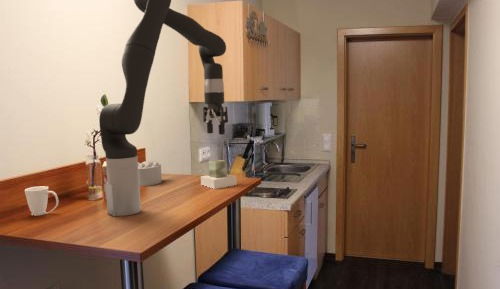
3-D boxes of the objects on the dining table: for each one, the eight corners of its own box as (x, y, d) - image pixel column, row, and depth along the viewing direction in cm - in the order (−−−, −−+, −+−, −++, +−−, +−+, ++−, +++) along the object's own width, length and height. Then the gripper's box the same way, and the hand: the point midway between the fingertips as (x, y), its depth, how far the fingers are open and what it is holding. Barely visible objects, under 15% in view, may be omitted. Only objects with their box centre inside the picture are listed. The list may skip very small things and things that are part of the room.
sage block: (216, 178, 171) (215, 162, 170) (209, 176, 175) (208, 161, 174) (227, 176, 174) (226, 161, 173) (220, 174, 178) (219, 159, 177)
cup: (34, 211, 144) (31, 186, 143) (64, 210, 143) (62, 185, 142) (21, 217, 137) (19, 191, 136) (53, 216, 136) (51, 190, 135)
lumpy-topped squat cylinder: (163, 179, 191) (162, 159, 190) (156, 185, 179) (155, 164, 178) (139, 180, 192) (138, 160, 191) (130, 186, 179) (129, 165, 178)
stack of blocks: (107, 189, 176) (105, 158, 174) (123, 187, 177) (121, 156, 176) (104, 201, 155) (101, 165, 154) (122, 199, 157) (120, 164, 155)
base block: (214, 189, 168) (214, 179, 168) (201, 185, 176) (200, 176, 176) (236, 185, 174) (236, 176, 173) (222, 181, 182) (222, 173, 181)
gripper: (196, 92, 174) (198, 133, 176) (215, 91, 163) (217, 135, 165) (212, 91, 179) (214, 132, 180) (232, 90, 167) (234, 134, 169)
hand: (215, 133), depth 173 cm, fingers open, 8 cm apart
